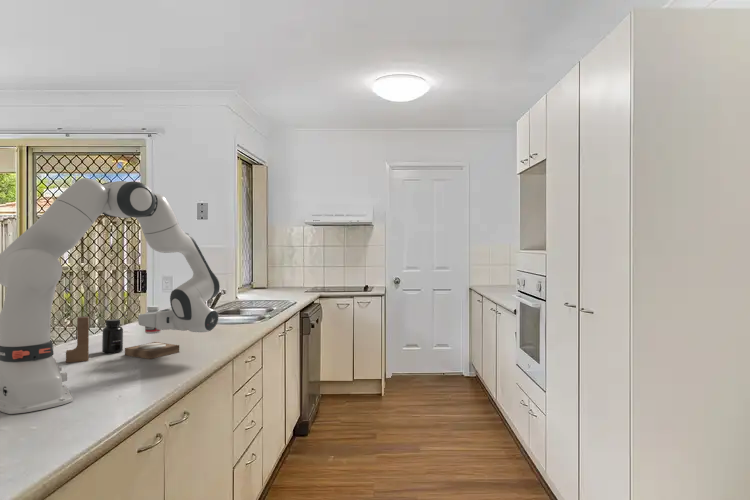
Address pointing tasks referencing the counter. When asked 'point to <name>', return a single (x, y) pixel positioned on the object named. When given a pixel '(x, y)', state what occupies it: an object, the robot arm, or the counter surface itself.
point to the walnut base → (152, 350)
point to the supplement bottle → (112, 337)
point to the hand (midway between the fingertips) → (151, 315)
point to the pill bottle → (149, 329)
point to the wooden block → (80, 342)
